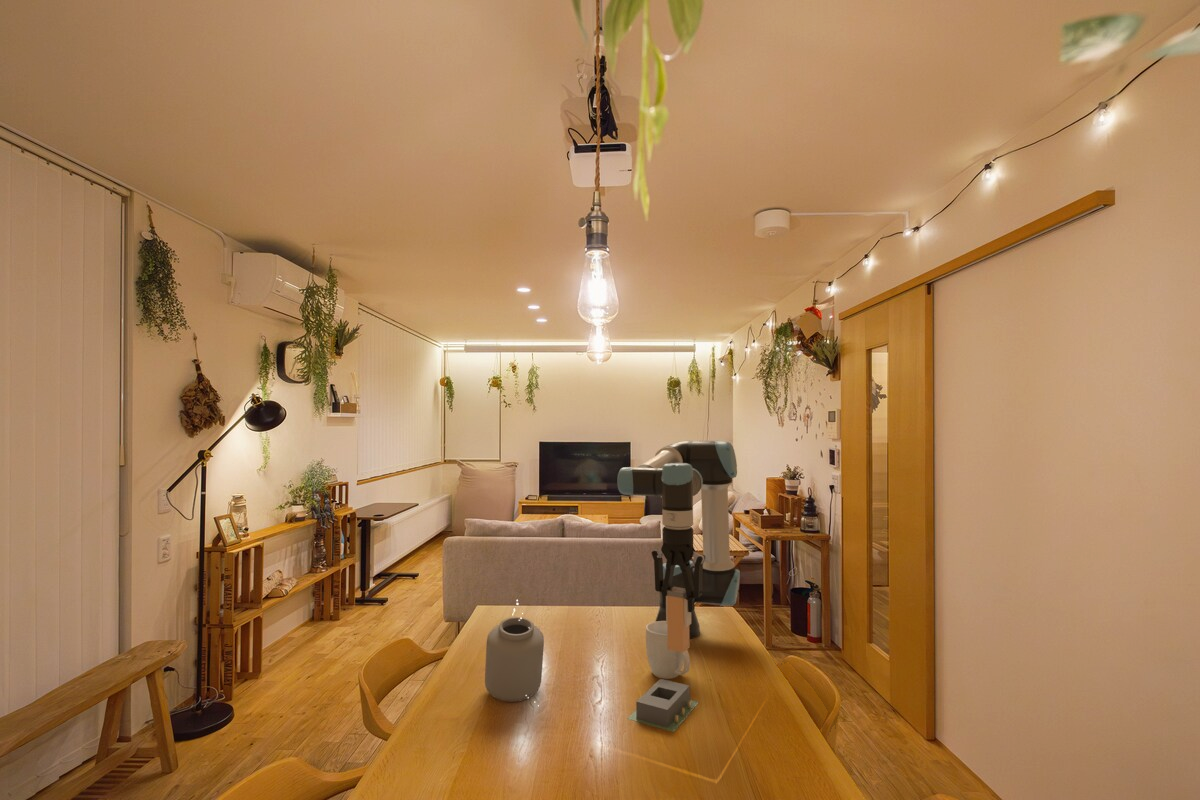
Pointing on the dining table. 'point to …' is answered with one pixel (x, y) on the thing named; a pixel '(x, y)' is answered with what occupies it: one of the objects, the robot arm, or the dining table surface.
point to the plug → (677, 620)
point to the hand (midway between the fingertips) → (678, 623)
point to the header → (664, 705)
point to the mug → (664, 653)
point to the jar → (514, 659)
